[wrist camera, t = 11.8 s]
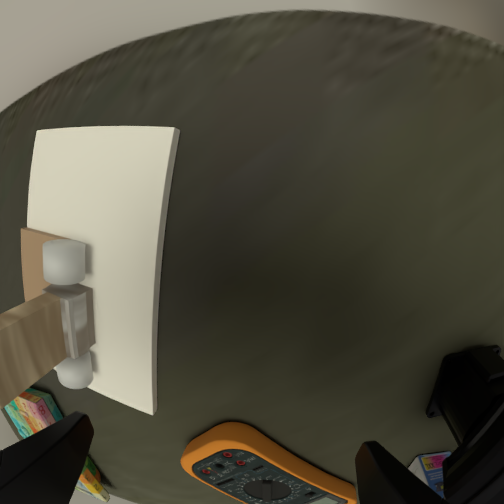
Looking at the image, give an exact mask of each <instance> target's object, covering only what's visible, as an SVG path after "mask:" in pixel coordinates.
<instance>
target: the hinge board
mask: <svg viewBox="0 0 504 504" xmlns="http://www.w3.org/2000/svg"><path fill="white" fill-rule="evenodd" d="M179 135H180V130H178V129H176V128H174V127H151V126H95V127H73V128H58V129H47V130H37V134H36V139H35V145H34V151H33V158H32V166H31V174H30V184H29V197H28V216H27V227H26V228H21V256H22V273H23V285H24V295H25V302H27V301H29V300H31V299H34V298H36V297H38V296H40V295H42V289H44V288H46V287H47V286H48V285H50V284H56V285H72V284H76V283H79V284H82V285H85V286H88V287H90V288H93V311H94V329H95V341H96V343H95V344H94V345H93V346H91V347H90V349H89V350H88V352H87V353H85V354H84V355H82V356H79V357H78V358H76V359H73V358H68V357H67V358H66V359H64V360H63V361H62V362H61V363H59V364H58V365H57V366H55V367H54V368H53V369H55V370H56V371H57V374H58V378H59V381H60V383H61V384H62V385H64V386H65V387H68V388H71V389H81V388H85V387H88V388H90V389H92V390H94V391H96V392H98V393H101V394H103V395H105V396H107V397H109V398H112V399H114V400H116V401H118V402H121V403H123V404H125V405H128V406H130V407H133V408H135V409H138V410H140V411H143V412H145V413H148V414H151V415H154V413H155V412H156V410H157V332H158V308H159V292H160V278H161V265H162V254H163V244H164V235H165V226H166V218H167V210H168V202H169V195H170V188H171V181H172V175H173V169H174V163H175V157H176V151H177V145H178V140H179Z"/></svg>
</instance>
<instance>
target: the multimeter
mask: <svg viewBox="0 0 504 504" xmlns="http://www.w3.org/2000/svg"><path fill="white" fill-rule="evenodd" d="M180 462H181V465H182V467H183V468H184V469H185V471H186V472H187V473H189V474H190V475H192V476H193V477H195V478H197V479H198V480H200V481H202V482H204V483H205V484H207V485H209V486H211V487H213V488H215V489H217V490H219V491H221V492H222V493H224V494H227V495H229V496H231V497H233V498H235V499H237V500H239V501H241V502H243V503H245V504H356V503H357V498H356V490H355V487H354V486H353V485H352V484H350V483H348V482H345V481H343V480H341V479H338V478H336V477H334V476H331V475H329V474H327V473H325V472H323V471H321V470H320V469H318V468H316V467H314V466H312V465H310V464H308V463H307V462H305V461H303V460H301V459H300V458H298V457H296V456H294V455H293V454H291V453H290V452H288V451H287V450H285V449H284V448H282V447H281V446H279V445H278V444H276V443H275V442H273V441H272V440H270V439H269V438H267V437H266V436H264V435H263V434H262V433H260V432H259V431H257V430H256V429H255V428H253V427H251V426H249V425H247V424H243V423H240V422H226V423H222V424H220V425H217V426H215V427H214V428H212V429H210V430H209V431H207V432H205V433H204V434H202V435H200V436H198V437H197V438H195V439H193V440H192V441H191V442H190V443H189V444H188V445H187V446H186V449H185V451H184V453H183V455H182V457H181V461H180Z"/></svg>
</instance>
